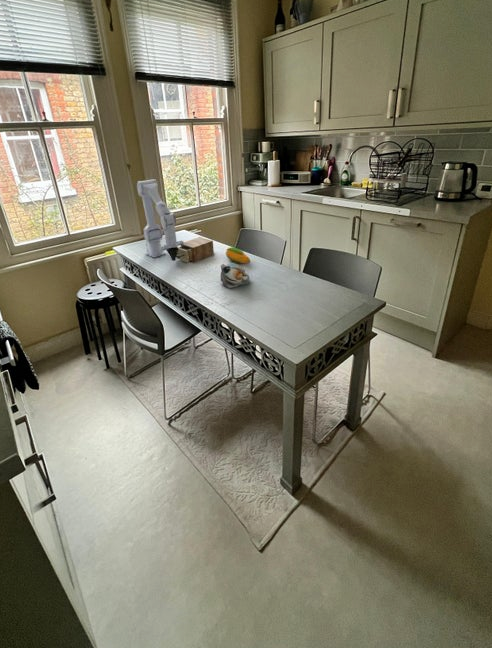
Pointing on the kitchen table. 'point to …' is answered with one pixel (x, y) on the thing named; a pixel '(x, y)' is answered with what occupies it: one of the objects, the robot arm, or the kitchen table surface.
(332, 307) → the kitchen table surface
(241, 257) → the corn
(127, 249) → the kitchen table surface
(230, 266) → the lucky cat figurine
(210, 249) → the cabinet
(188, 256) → the drawer
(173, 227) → the robot arm
